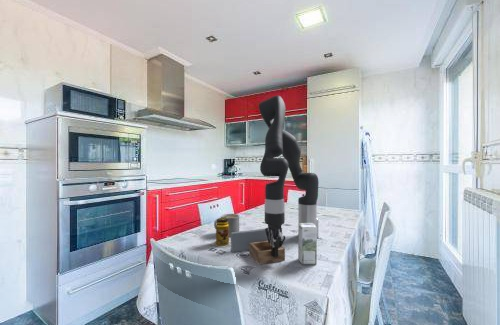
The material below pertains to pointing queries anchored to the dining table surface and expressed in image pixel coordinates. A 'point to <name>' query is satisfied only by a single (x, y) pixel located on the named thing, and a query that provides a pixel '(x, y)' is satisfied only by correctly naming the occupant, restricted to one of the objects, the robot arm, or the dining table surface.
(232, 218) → the coffee mug
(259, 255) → the socket block
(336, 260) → the dining table surface
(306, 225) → the syrup box
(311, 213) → the robot arm
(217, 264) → the dining table surface
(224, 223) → the condiment
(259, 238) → the backstop wall
